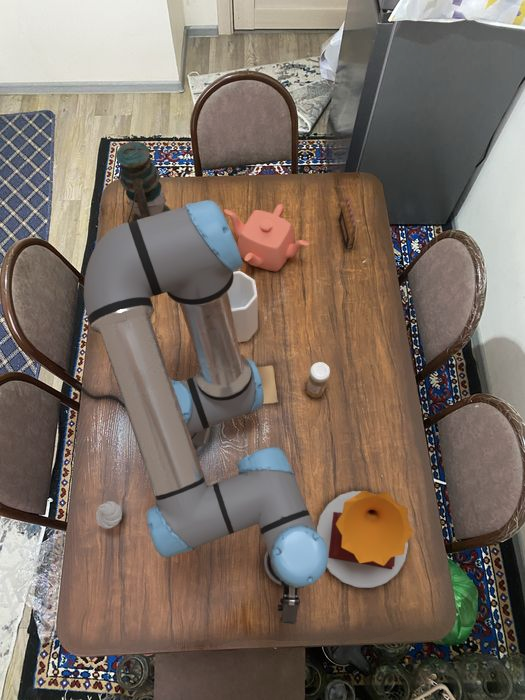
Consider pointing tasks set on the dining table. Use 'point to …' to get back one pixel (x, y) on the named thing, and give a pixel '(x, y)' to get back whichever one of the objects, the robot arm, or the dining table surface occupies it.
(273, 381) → the coaster
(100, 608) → the dining table surface
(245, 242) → the pot
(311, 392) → the sprinkles bottle
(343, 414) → the dining table surface
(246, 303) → the cup
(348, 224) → the bullet clip
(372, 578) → the gramophone
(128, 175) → the lantern
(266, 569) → the grey cylinder
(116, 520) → the ice cream cone
